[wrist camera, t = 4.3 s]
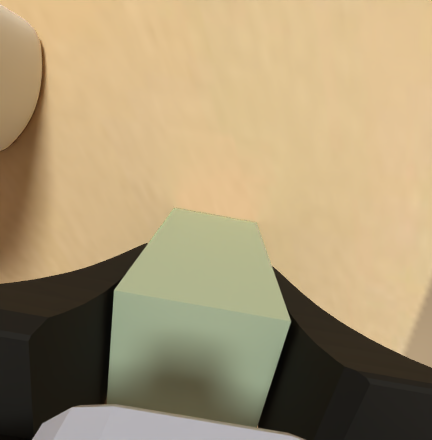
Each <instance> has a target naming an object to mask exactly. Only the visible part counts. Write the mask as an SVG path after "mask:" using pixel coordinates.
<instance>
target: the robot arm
mask: <svg viewBox="0 0 432 440" xmlns="http://www.w3.org/2000/svg"><path fill="white" fill-rule="evenodd" d="M147 244H148V243H146V244H143V245H141V246H138V247H136V248H134V249H132V250H129V251H127V252H125V253H123V254H120V255H118V256H116V257H113V258H111V259H108V260H106V261H103V262H100V263H98V264H95V265H92V266H89V267H86V268H83V269H79V270H76V271H72V272H68V273H64V274H59V275H54V276H50V277H45V278H40V279H34V280H28V281H21V282H13V283H5V284H0V440H432V368H431V367H428V366H426V365H424V364H421V363H419V362H416V361H414V360H411V359H409V358H407V357H405V356H403V355H401V354H399V353H397V352H395V351H392V350H390V349H388V348H386V347H384V346H382V345H380V344H378V343H376V342H375V341H373V340H371V339H369V338H367V337H365V336H364V335H362V334H360V333H358V332H357V331H355V330H353V329H351V328H350V327H348V326H346V325H345V324H343V323H342V322H340V321H339V320H337V319H336V318H334V317H333V316H331V315H330V314H328V313H327V312H325V311H324V310H323V309H321V308H320V307H319V306H317V305H316V304H315V303H314V302H312V301H311V300H310V299H309V298H307V297H306V296H305V295H304V294H303V293H301V292H300V291H299V290H298V289H297V288H296V287H295V286H294V285H292V284H291V283H290V282H289V281H288V280H287V279H286V278H285V277H284V276H283V275H282V274H281V273H280V272H278V271H277V270H276V269H275V268H274V267H272V268H273V271H274V274H275V277H276V279H277V282H278V285H279V288H280V291H281V294H282V297H283V300H284V302H285V305H286V308H287V311H288V314H289V317H290V320H291V323H290V326H289V329H288V332H287V335H286V339H285V342H284V345H283V348H282V351H281V354H280V357H279V360H278V363H277V367H276V370H275V373H274V376H273V379H272V382H271V385H270V388H269V391H268V395H267V398H266V401H265V404H264V407H263V410H262V413H261V416H260V419H259V422H258V428H256V427H250V426H244V425H238V424H232V423H226V422H220V421H214V420H208V419H202V418H196V417H190V416H184V415H178V414H172V413H166V412H160V411H154V410H148V409H142V408H136V407H130V406H124V405H118V404H104V403H105V400H106V398H107V390H108V375H109V360H110V344H111V329H112V314H113V299H114V290H115V288H116V287H117V286H118V284H119V283H120V281H121V280H122V279H123V277H124V276H125V275H126V273H127V272H128V270H129V269H130V268H131V266H132V265H133V264H134V262H135V261H136V259H137V258H138V257H139V255H140V254H141V253H142V251H143V250H144V248H145V247H146V246H147Z"/></svg>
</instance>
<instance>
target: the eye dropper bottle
mask: <svg viewBox="0 0 432 440" xmlns="http://www.w3.org/2000/svg"><path fill="white" fill-rule="evenodd" d="M41 79H42V51H41V43H40V40H39V37H38V34H37V32H36V30H35V29H34V28H33V27H32V26H31V25H30V24H29V23H28V22H27V21H26V20H25V19H23V18H22V17H20V16H19V15H17V14H16V13H14V12H12V11H11V10H9V9H8V8H6V7H4V6H3V5H1V4H0V151H1V150H4V149H6V148H7V147H8V146H10V145H11V144H12V143H13V142H14V141H15V140H16V139H17V138H18V136H19V135H20V134H21V133H22V131H23V130H24V129H25V127H26V125H27V124H28V122H29V120H30V118H31V117H32V114H33V112H34V110H35V107H36V104H37V101H38V97H39V92H40V87H41Z"/></svg>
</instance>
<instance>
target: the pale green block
mask: <svg viewBox="0 0 432 440" xmlns="http://www.w3.org/2000/svg"><path fill="white" fill-rule="evenodd" d="M290 323H291V320H290V317H289V314H288V311H287V308H286V305H285V302H284V300H283V297H282V294H281V291H280V288H279V285H278V282H277V279H276V277H275V274H274V271H273V268H272V265H271V262H270V259H269V256H268V254H267V251H266V248H265V245H264V242H263V239H262V236H261V234H260V231H259V228H258V225H257V223H255V222H250V221H244V220H239V219H233V218H228V217H222V216H217V215H211V214H206V213H200V212H195V211H189V210H184V209H178V208H174V209H173V210H172V211H171V213H170V214H169V215H168V217H167V218H166V220H165V221H164V222H163V224H162V225H161V226H160V228H159V229H158V231H157V232H156V233H155V235H154V236H153V237H152V239H151V240H150V242H149V243H148V244H147V246H146V247H145V248H144V250H143V251H142V253H141V254H140V255H139V257H138V258H137V259H136V261H135V262H134V264H133V265H132V266H131V268H130V269H129V270H128V272H127V273H126V275H125V276H124V277H123V279H122V280H121V281H120V283H119V284H118V286H117V287H116V288H115V290H114V299H113V314H112V329H111V344H110V360H109V375H108V390H107V404H118V405H124V406H130V407H136V408H142V409H148V410H154V411H160V412H166V413H172V414H178V415H184V416H190V417H196V418H202V419H208V420H214V421H220V422H226V423H232V424H238V425H244V426H250V427H256V428H257V426H258V422H259V419H260V416H261V413H262V410H263V407H264V404H265V401H266V398H267V395H268V391H269V388H270V385H271V382H272V379H273V376H274V373H275V370H276V367H277V363H278V360H279V357H280V354H281V351H282V348H283V345H284V342H285V339H286V335H287V332H288V329H289V326H290Z"/></svg>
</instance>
